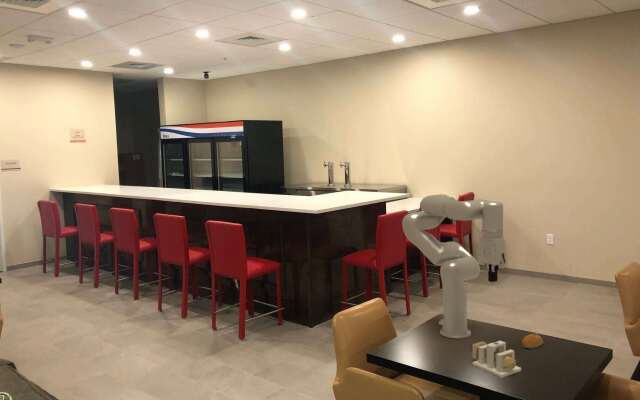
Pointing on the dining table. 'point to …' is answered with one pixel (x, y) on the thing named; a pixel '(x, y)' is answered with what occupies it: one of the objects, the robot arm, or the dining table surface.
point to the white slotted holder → (495, 367)
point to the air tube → (507, 360)
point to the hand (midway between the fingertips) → (492, 281)
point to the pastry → (532, 341)
